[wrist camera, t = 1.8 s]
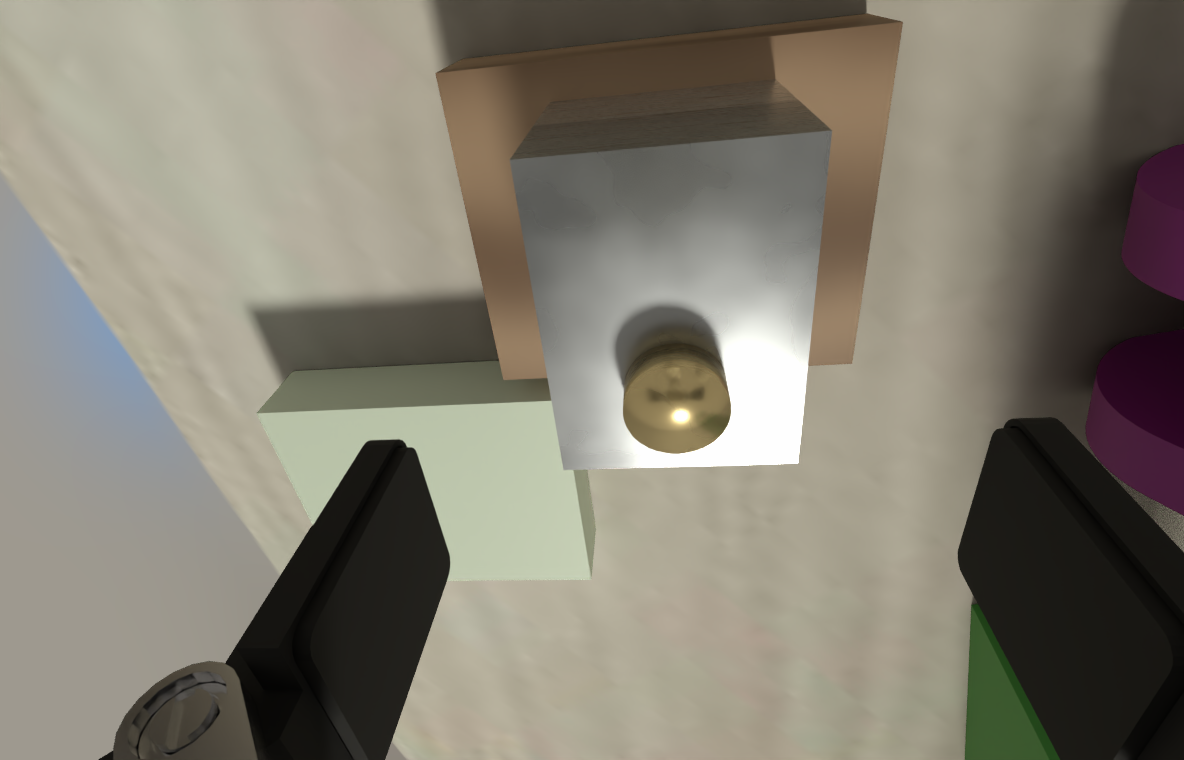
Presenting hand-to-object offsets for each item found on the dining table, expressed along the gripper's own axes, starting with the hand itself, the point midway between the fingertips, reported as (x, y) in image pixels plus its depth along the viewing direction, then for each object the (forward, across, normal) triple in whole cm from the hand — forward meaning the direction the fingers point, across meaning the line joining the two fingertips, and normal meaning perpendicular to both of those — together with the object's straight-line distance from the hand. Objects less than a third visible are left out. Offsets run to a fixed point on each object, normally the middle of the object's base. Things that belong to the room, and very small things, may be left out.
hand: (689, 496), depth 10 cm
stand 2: (+14, 0, -1) cm, 14 cm away
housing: (+10, 0, -1) cm, 11 cm away
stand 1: (+14, +10, +10) cm, 20 cm away
